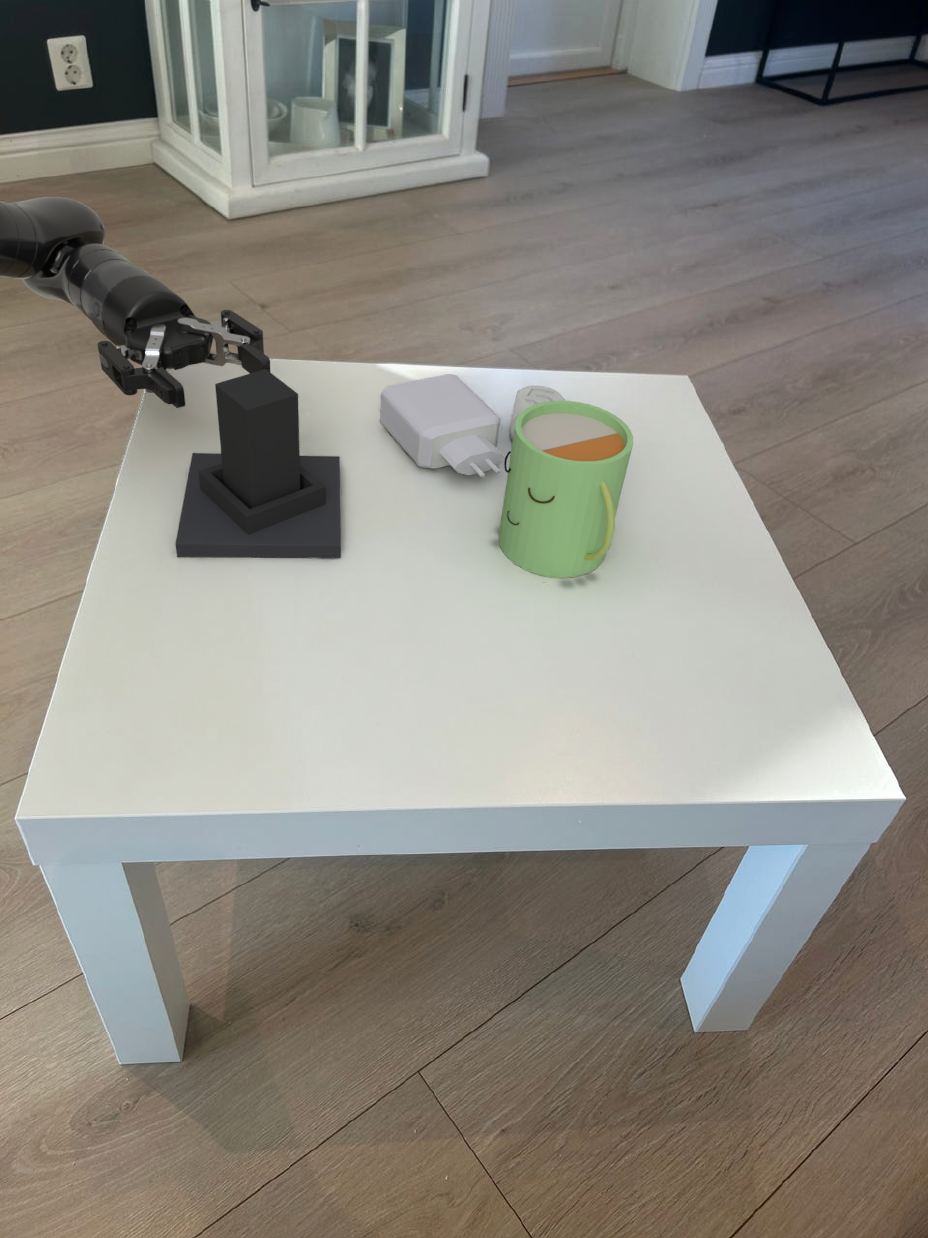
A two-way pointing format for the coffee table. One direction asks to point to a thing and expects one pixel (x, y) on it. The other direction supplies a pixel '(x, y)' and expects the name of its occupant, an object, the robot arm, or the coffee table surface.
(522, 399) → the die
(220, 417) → the tall black rectangular block
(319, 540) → the base pad
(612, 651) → the coffee table surface
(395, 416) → the charger
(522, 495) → the mug
